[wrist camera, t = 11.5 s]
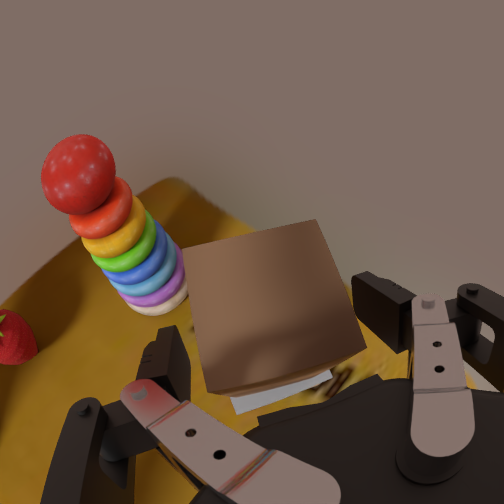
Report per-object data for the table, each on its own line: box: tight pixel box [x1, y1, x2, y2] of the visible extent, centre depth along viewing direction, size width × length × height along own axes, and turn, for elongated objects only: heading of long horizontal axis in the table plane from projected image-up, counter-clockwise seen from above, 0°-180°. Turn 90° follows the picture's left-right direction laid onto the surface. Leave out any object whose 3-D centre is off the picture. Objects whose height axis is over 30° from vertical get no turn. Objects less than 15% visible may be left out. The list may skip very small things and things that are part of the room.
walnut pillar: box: [182, 219, 367, 398], centre depth 13 cm, size 5×5×10 cm
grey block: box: [230, 370, 332, 415], centre depth 19 cm, size 6×6×4 cm
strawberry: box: [0, 309, 38, 365], centre depth 20 cm, size 6×8×10 cm
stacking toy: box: [41, 135, 188, 316], centre depth 21 cm, size 8×8×19 cm
